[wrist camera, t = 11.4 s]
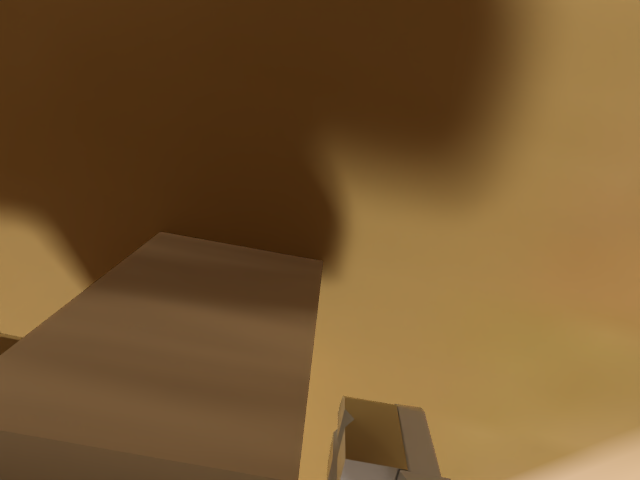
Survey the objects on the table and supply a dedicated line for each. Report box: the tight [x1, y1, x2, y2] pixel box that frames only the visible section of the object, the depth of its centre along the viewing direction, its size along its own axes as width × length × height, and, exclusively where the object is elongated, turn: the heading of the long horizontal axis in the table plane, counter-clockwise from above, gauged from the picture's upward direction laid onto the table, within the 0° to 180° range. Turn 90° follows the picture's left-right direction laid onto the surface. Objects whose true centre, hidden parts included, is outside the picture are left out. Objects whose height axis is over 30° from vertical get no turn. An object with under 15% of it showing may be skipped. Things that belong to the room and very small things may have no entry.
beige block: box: [0, 232, 323, 480], centre depth 8 cm, size 4×4×6 cm
